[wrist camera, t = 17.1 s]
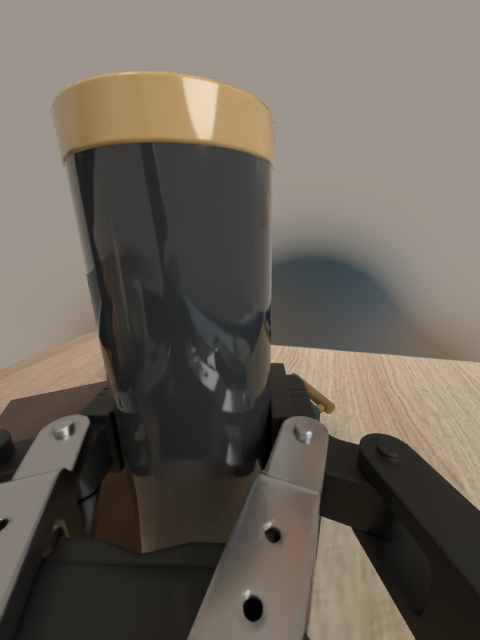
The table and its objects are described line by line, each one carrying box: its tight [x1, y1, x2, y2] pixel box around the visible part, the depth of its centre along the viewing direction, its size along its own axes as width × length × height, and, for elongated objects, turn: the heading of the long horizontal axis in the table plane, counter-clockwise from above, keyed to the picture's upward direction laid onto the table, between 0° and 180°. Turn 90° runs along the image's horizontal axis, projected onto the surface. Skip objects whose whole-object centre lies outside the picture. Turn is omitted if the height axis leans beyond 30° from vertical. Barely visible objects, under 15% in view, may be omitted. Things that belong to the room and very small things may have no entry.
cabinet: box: [0, 381, 142, 553], centre depth 23 cm, size 15×13×9 cm
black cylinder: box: [51, 71, 275, 553], centre depth 10 cm, size 5×5×21 cm
